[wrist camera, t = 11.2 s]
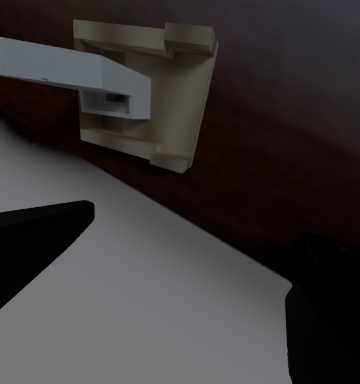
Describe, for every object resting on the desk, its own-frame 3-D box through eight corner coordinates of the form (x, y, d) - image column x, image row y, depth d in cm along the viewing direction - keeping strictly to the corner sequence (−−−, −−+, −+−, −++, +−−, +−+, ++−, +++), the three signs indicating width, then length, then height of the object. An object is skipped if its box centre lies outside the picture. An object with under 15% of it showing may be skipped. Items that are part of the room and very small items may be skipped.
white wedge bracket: (46, 66, 17) (-34, 30, 9) (149, 82, 19) (155, 65, 11) (54, 107, 18) (-10, 106, 11) (148, 117, 21) (152, 123, 13)
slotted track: (218, 44, 15) (212, 25, 12) (191, 165, 20) (181, 174, 16) (102, 30, 17) (72, 11, 14) (103, 140, 22) (81, 144, 19)
